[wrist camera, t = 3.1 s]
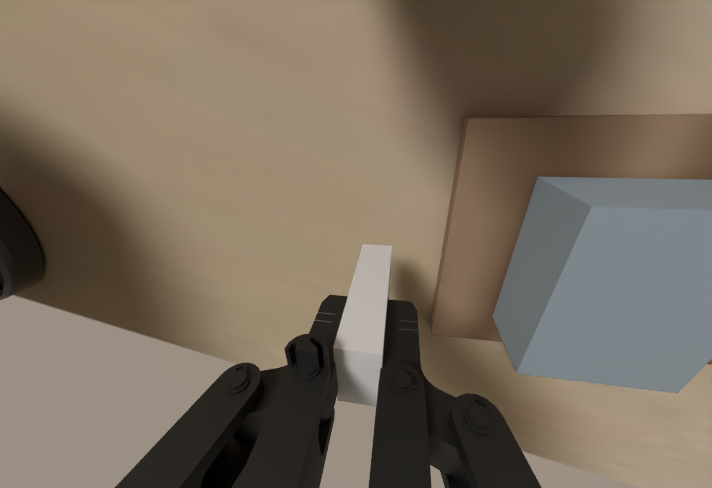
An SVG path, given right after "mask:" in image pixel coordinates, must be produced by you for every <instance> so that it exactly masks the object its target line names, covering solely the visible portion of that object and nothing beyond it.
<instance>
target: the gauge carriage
mask: <svg viewBox="0 0 712 488" xmlns="http://www.w3.org/2000/svg"><path fill="white" fill-rule="evenodd" d="M492 317H493V319H494V321H495V324H496V326H497V329H498V331H499V333H500V336H501V338H502V341H503V343H504V345H505V348H506V350H507V353H508V355H509V357H510V360H511V362H512V365H513V367H514V369H515V372H516V374H524V375H532V376H540V377H548V378H557V379H565V380H573V381H581V382H589V383H597V384H605V385H613V386H621V387H630V388H638V389H646V390H654V391H662V392H670V393H678V392H679V391H680V390H681V389H682V388H683V387H684V386H685V385H686V384H687V383H688V382H689V381H690V380H691V379H692V378H693V377H694V376H695V375H696V374H697V373H698V372H699V371H700V370H701V369H702V368H703V367H704V366H705V365H706V364H707V363H708V362H709V361H710V360H711V359H712V180H697V179H642V178H587V177H537V180H536V183H535V187H534V190H533V193H532V196H531V199H530V202H529V205H528V208H527V211H526V214H525V217H524V221H523V224H522V227H521V230H520V233H519V236H518V239H517V242H516V245H515V248H514V251H513V255H512V258H511V261H510V264H509V267H508V270H507V273H506V276H505V279H504V282H503V285H502V289H501V292H500V295H499V298H498V301H497V304H496V307H495V310H494V313H493V316H492Z"/></svg>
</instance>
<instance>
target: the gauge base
mask: <svg viewBox="0 0 712 488" xmlns="http://www.w3.org/2000/svg"><path fill="white" fill-rule="evenodd" d="M537 177H587V178H642V179H697V180H712V114H678V115H604V116H530V117H464V122H463V128H462V134H461V140H460V146H459V152H458V158H457V164H456V170H455V176H454V182H453V188H452V194H451V200H450V206H449V212H448V218H447V224H446V230H445V236H444V242H443V248H442V254H441V260H440V266H439V272H438V279H437V285H436V291H435V297H434V303H433V309H432V315H431V321H430V328H431V334H434V335H444V336H453V337H462V338H472V339H481V340H490V341H500V342H503V341H502V338H501V336H500V333H499V331H498V329H497V326H496V324H495V321H494V319H493V317H492V316H493V313H494V310H495V307H496V304H497V301H498V298H499V295H500V292H501V289H502V285H503V282H504V279H505V276H506V273H507V270H508V267H509V264H510V261H511V258H512V255H513V251H514V248H515V245H516V242H517V239H518V236H519V233H520V230H521V227H522V224H523V221H524V217H525V214H526V211H527V208H528V205H529V202H530V199H531V196H532V193H533V190H534V187H535V183H536V180H537ZM707 364H712V359H711V360H710V361H709V362H708V363H707Z"/></svg>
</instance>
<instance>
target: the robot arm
mask: <svg viewBox="0 0 712 488" xmlns="http://www.w3.org/2000/svg"><path fill="white" fill-rule="evenodd" d="M391 251H392V246H385V245H368V244H363V246H362V249H361V253H360V256H359V260H358V263H357V267H356V270H355V274H354V277H353V281H352V284H351V287H350V291H349V294H348V296H337V295H329V296H328V297H327V298H326V299H325V300H324V301H323V302H322V303H321V306H320V308H319V311H318V313H317V315H316V318H315V321H314V323H313V325H312V328H311V330H310V333H309V334H303V335H301V336H298V337H296V338H294V339H293V340H291V341H290V342H289V343H288V344H287V346H286V347H285V353H286V358H287V362H288V365H286V366H284V367H280V368H276V369H270V370H264V371H260V370H259V368H258V367H257V366H256V365H254V364H251V363H241V364H237V365H235V366H233V367H231V368H229V369H228V370H226V371H225V372H224V373H223V374H222V375H221V376H220V377H219V378H218V379H217V380H216V381H215V382H214V383H213V384H212V385H211V386H210V387H209V388H208V389H207V390H206V392H205V393H204V394H203V395H202V396H201V397H200V398H199V399H198V400H197V401H196V402H195V403H194V404H193V405H192V406H191V407H190V409H189V410H188V411H187V412H186V413H185V414H184V415H183V416H182V417H181V418H180V419H179V420H178V421H177V422H176V423H175V424H174V426H173V427H172V428H171V429H170V430H169V431H168V432H167V433H166V434H165V435H164V436H163V437H162V438H161V439H160V440H159V441H158V442H157V444H156V445H155V446H154V447H153V448H152V449H151V450H150V451H149V452H148V453H147V454H146V455H145V456H144V458H143V459H141V460H140V462H139V463H138V464H137V465H136V466H135V467H134V468H133V469H132V470H131V471H130V472H129V473H128V474H127V475H126V477H124V479H123V480H122V481H121V482H120V483H119V484H118V485H117V486H116V487H115V488H319V486H320V482H321V477H322V473H323V468H324V464H325V459H326V454H327V450H328V445H329V440H330V436H331V432H332V427H333V422H334V413H335V411H334V405H335V401H336V397H338V400H339V401H346V402H352V403H358V404H365V405H371V406H376V416H375V426H374V438H373V448H372V459H371V470H370V480H369V488H431V474H430V465H432V466H433V467H435V468H437V469H438V470H440V472H441V475H442V479H443V482H444V486H445V488H541V486H540V484H539V482H538V480H537V479H536V477H535V475H534V473H533V471H532V469H531V467H530V466H529V464H528V462H527V460H526V458H525V456H524V454H523V453H522V451H521V449H520V447H519V445H518V443H517V441H516V440H515V438H514V436H513V434H512V432H511V430H510V428H509V427H508V425H507V423H506V421H505V419H504V417H503V416H502V414H501V413H500V412H499V410H498V409H497V408H496V406H495V405H493V404H492V403H491V402H490V401H488V400H487V399H485V398H483V397H481V396H479V395H477V394H468V393H467V394H463V395H460V396H458V397H457V398H456V397H454V396H452V395H449V394H447V393H445V392H443V391H441V390H439V389H437V388H436V387H434V386H433V385H432V384H431V383H430V382H429V381H428V380H427V379H426V377H425V376H424V374H423V372H422V370H421V365H420V349H419V333H418V317H417V310H416V308H415V307H414V305H413V303H412V302H409V301H398V300H389V288H390V269H391ZM43 270H44V262H43V257H42V253H41V250H40V247H39V245H38V243H37V240H36V238H35V237H34V235H33V233H32V231H31V230H30V228H29V226H28V225H27V223H26V222H25V220H24V219H23V218H22V216H21V215H20V214H19V212H18V211H17V210H16V209H15V207H14V206H13V205H12V204H11V203H10V202H9V200H8V199H7V198H6V197H5V196H4V195H3V194H2V193H1V192H0V300H2V299H4V298H7V297H9V296H11V295H13V294H15V293H17V292H19V291H21V290H23V289H25V288H27V287H29V286H32V285H34V284H35V283H37V282H38V281H39V280H40V278H41V277H42V274H43Z"/></svg>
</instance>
